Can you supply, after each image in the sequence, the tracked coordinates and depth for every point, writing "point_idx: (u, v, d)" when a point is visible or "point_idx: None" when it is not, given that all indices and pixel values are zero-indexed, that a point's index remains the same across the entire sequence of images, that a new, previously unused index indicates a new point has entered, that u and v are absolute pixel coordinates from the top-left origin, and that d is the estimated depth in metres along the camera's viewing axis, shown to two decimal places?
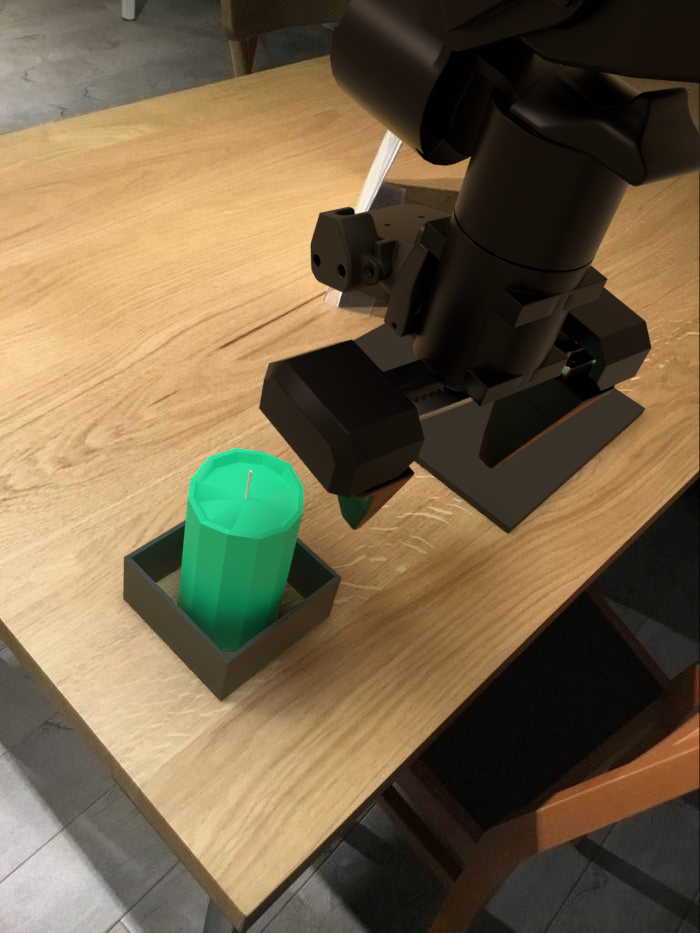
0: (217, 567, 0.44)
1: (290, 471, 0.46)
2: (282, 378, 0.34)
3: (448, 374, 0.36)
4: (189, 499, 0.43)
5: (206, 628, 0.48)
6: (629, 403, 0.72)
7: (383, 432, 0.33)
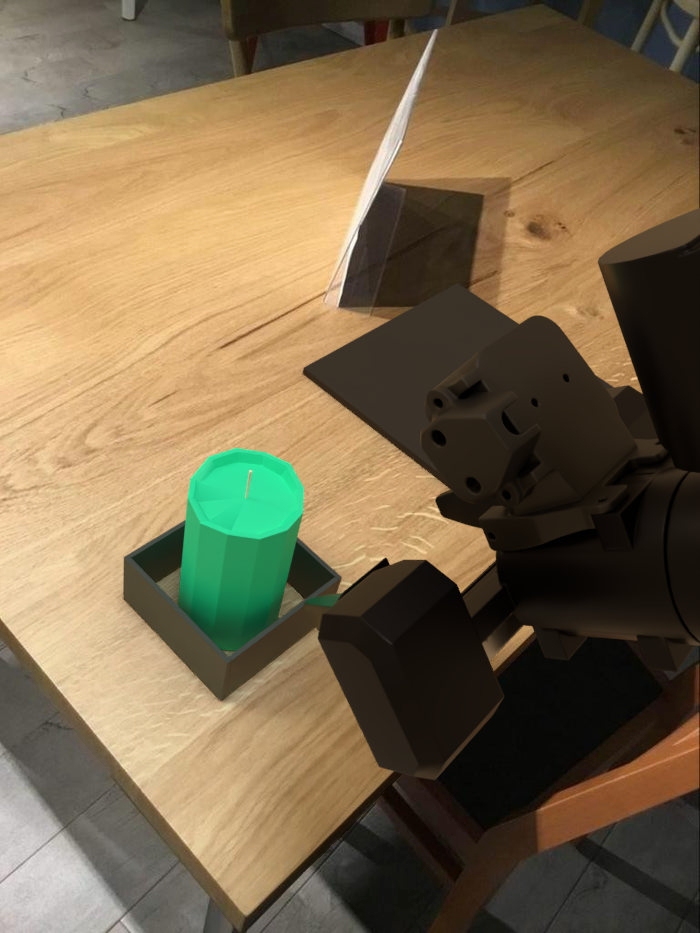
0: (217, 567, 0.44)
1: (290, 471, 0.46)
2: (382, 666, 0.26)
3: (529, 618, 0.31)
4: (189, 499, 0.43)
5: (206, 628, 0.48)
6: None
7: (469, 737, 0.28)
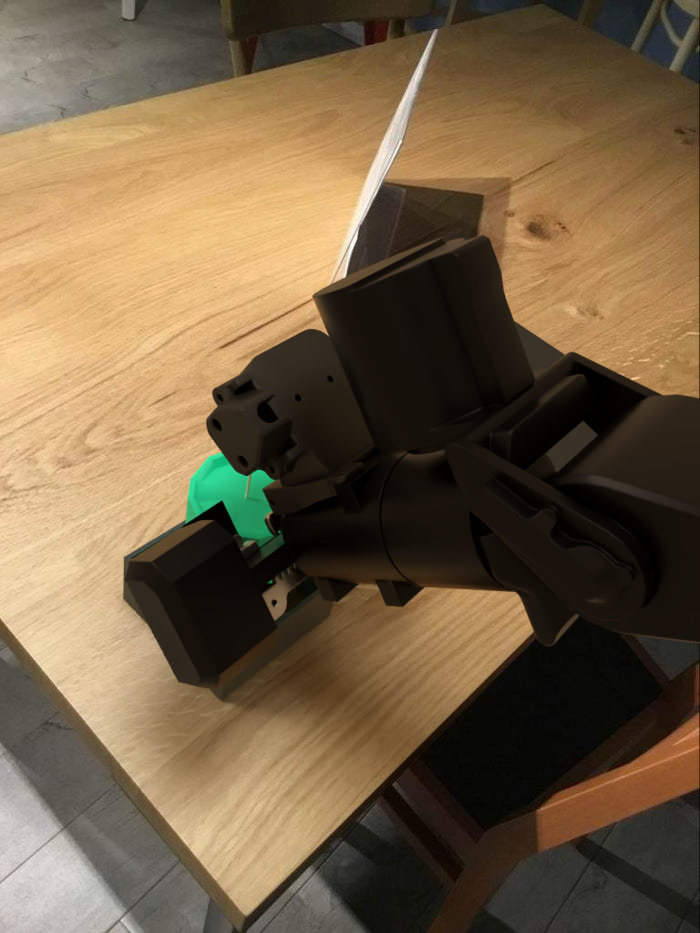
0: None
1: None
2: (166, 599, 0.34)
3: (307, 568, 0.39)
4: (189, 499, 0.43)
5: None
6: None
7: (246, 658, 0.36)
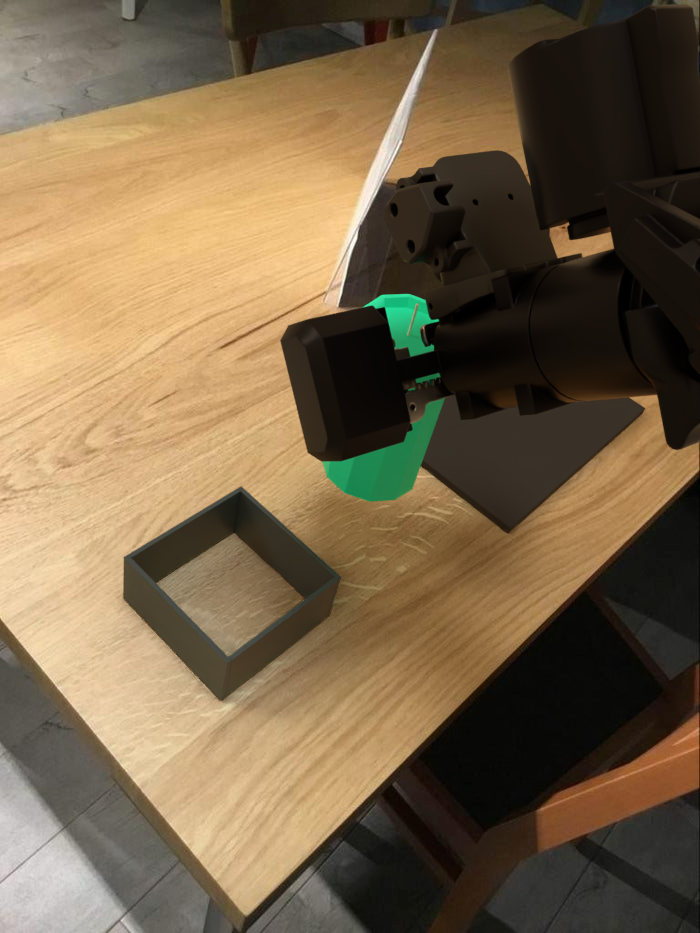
0: None
1: None
2: (312, 354, 0.36)
3: (451, 381, 0.40)
4: None
5: (345, 468, 0.50)
6: (629, 403, 0.72)
7: (374, 438, 0.38)
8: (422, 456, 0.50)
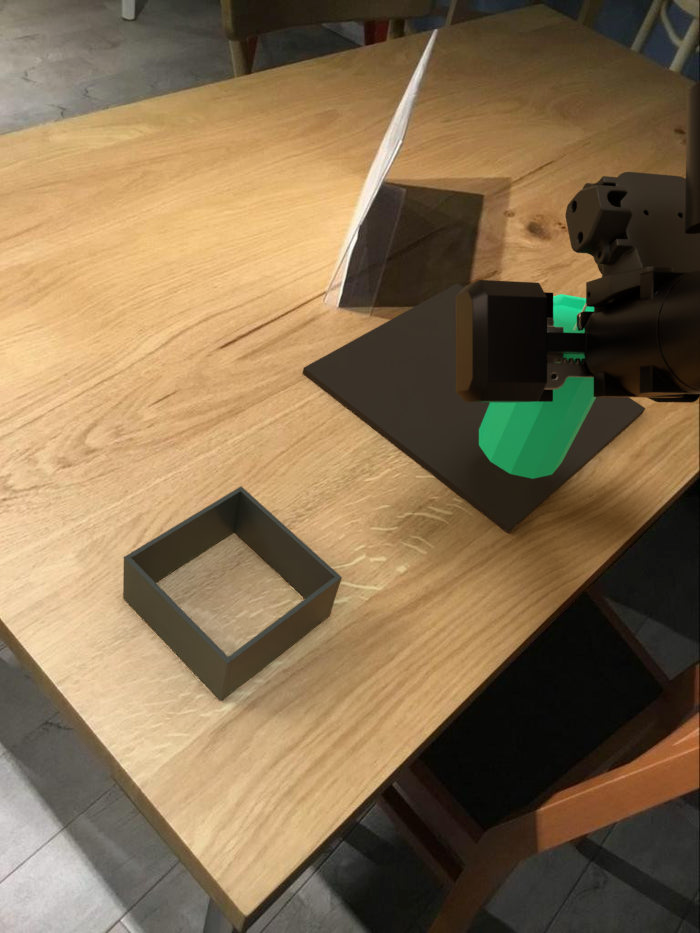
0: None
1: None
2: (477, 306, 0.44)
3: (592, 361, 0.46)
4: None
5: (495, 438, 0.57)
6: (629, 403, 0.72)
7: (512, 389, 0.45)
8: (565, 444, 0.56)
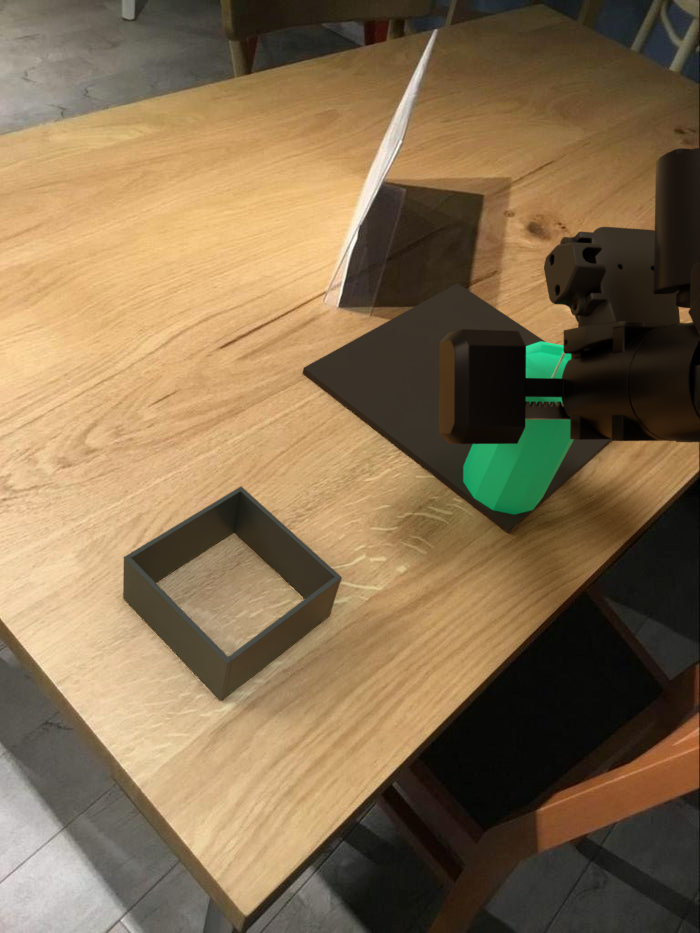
0: None
1: None
2: (459, 355, 0.46)
3: (568, 405, 0.48)
4: None
5: (478, 476, 0.60)
6: None
7: (492, 433, 0.47)
8: (545, 482, 0.59)
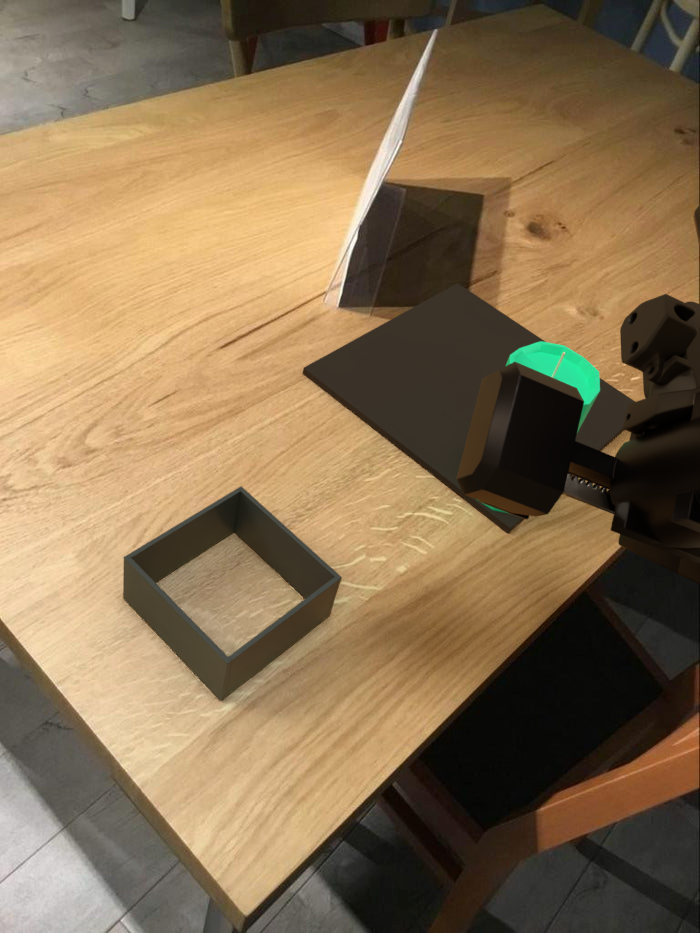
0: None
1: (595, 375, 0.55)
2: (505, 384, 0.39)
3: (617, 488, 0.39)
4: (510, 356, 0.55)
5: None
6: (629, 403, 0.72)
7: (522, 486, 0.38)
8: None
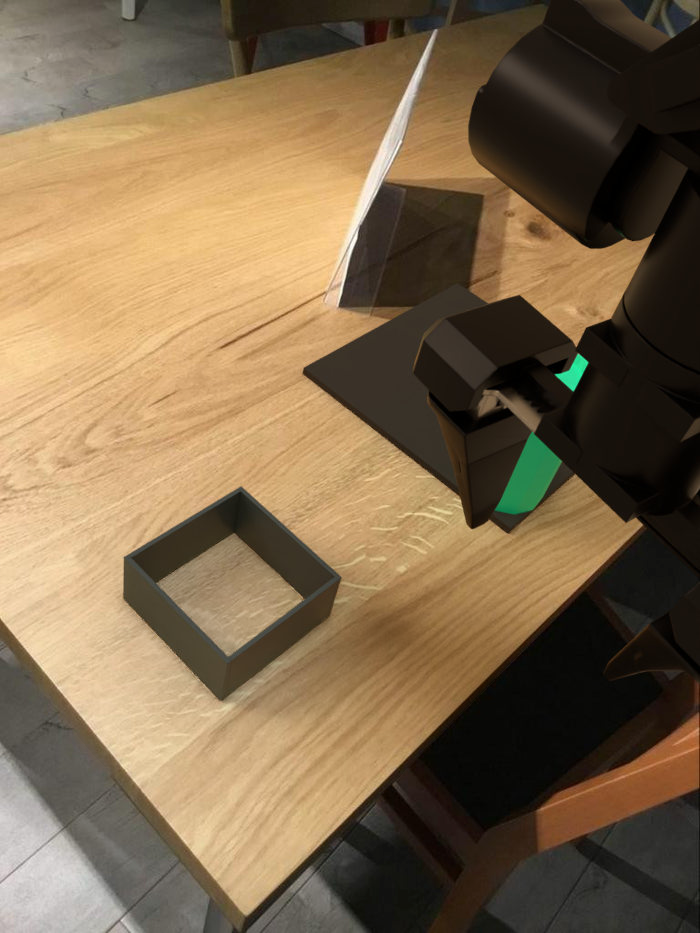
0: None
1: None
2: (502, 299, 0.38)
3: None
4: None
5: None
6: None
7: (461, 348, 0.35)
8: (545, 482, 0.59)
